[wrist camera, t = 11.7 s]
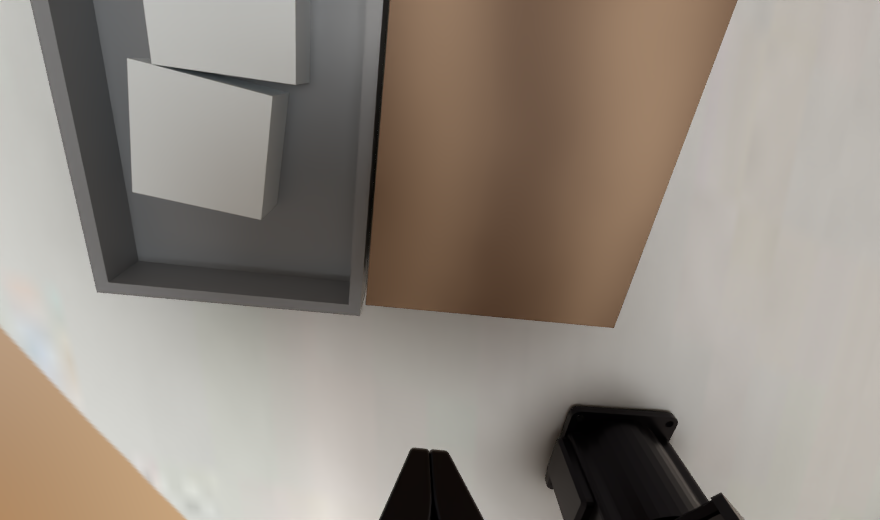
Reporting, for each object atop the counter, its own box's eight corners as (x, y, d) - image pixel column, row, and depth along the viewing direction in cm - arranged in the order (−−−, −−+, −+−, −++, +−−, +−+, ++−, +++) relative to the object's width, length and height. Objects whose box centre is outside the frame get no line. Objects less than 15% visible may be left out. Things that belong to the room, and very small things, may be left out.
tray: (394, -70, 14) (390, -95, 12) (366, 287, 20) (360, 315, 18) (63, -134, 13) (-10, -175, 11) (135, 264, 19) (97, 292, 17)
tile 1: (127, 58, 13) (161, 58, 15) (132, 191, 15) (162, 178, 17) (272, 96, 14) (288, 92, 16) (261, 219, 16) (277, 204, 18)
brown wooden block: (668, -1, 16) (745, -21, 12) (578, 281, 20) (614, 327, 17) (401, -51, 14) (397, -89, 11) (374, 260, 19) (365, 304, 16)
